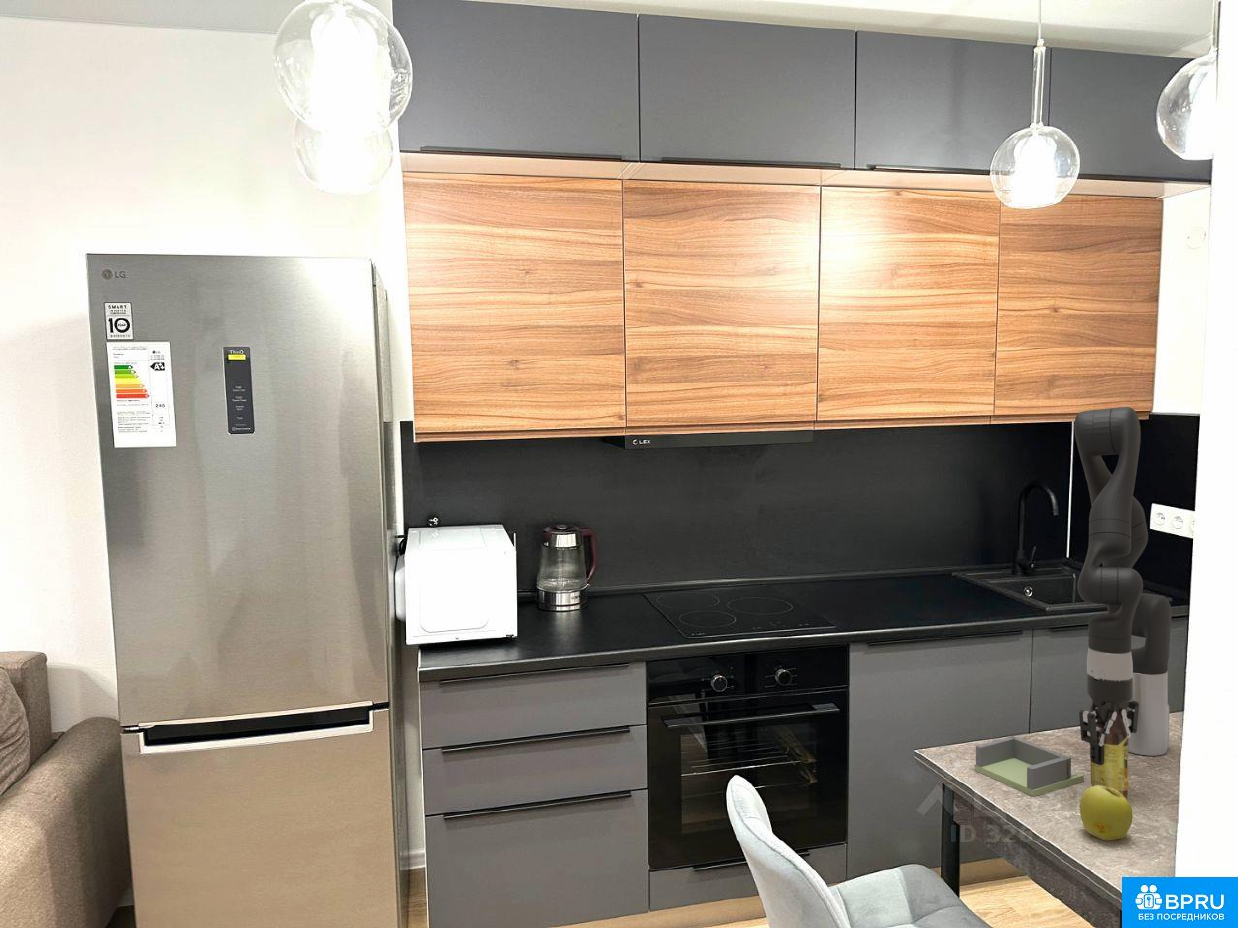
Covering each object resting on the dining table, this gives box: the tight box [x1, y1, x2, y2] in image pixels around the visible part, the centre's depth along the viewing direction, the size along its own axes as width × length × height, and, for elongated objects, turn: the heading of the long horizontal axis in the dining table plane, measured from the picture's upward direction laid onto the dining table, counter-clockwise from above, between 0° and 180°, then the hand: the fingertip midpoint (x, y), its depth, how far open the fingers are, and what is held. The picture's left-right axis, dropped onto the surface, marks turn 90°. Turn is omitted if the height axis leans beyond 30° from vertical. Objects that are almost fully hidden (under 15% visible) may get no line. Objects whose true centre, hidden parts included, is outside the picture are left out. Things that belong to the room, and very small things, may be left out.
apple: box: [1079, 778, 1133, 841], centre depth 151 cm, size 8×8×10 cm
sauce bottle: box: [1090, 703, 1129, 799], centre depth 166 cm, size 6×6×20 cm
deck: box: [974, 735, 1085, 797], centre depth 175 cm, size 14×14×5 cm
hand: (1109, 759), depth 166 cm, fingers closed on sauce bottle, 6 cm apart
